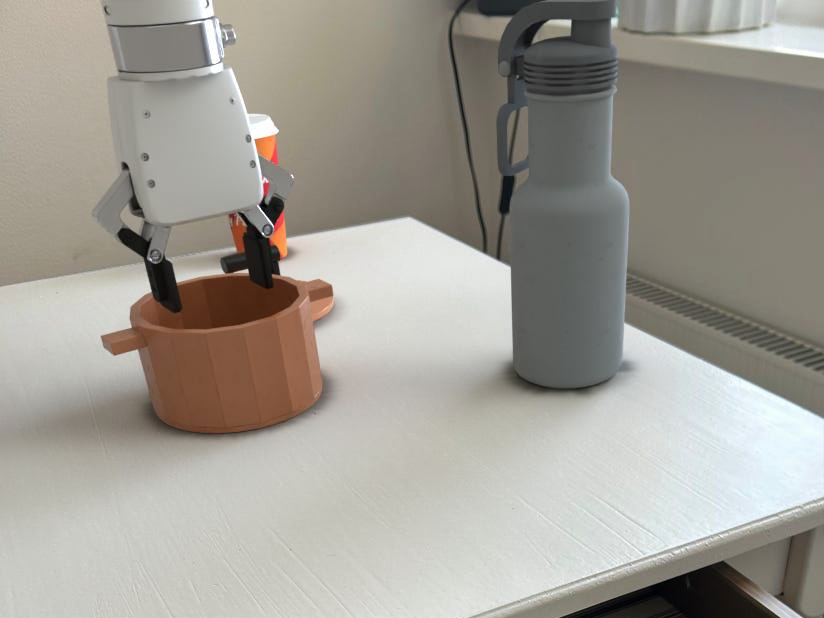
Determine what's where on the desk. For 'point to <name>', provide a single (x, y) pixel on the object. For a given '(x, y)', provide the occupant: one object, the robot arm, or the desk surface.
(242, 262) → the lid
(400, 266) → the desk surface
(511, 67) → the water bottle
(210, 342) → the pot
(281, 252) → the coffee cup
